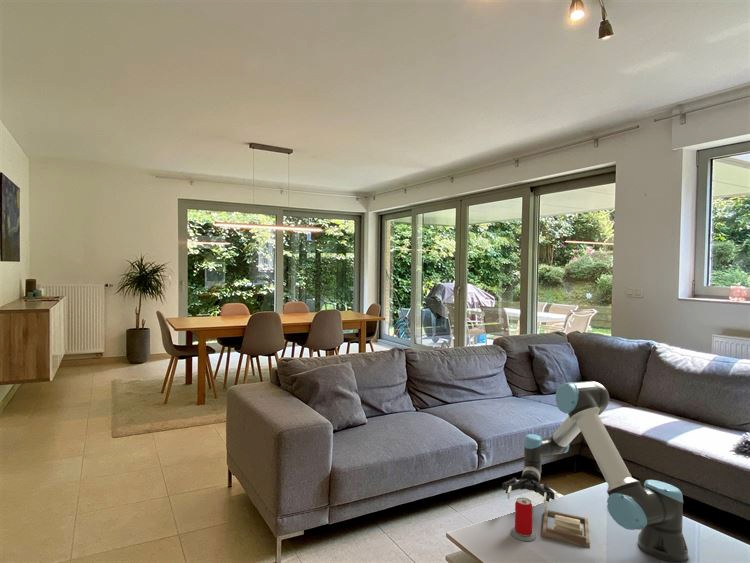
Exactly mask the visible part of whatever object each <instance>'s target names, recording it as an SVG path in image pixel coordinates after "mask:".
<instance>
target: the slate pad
mask: <svg viewBox="0 0 750 563" xmlns="http://www.w3.org/2000/svg"><path fill="white" fill-rule="evenodd" d="M510 534H511V536H512V537H513V538H514V539H516V540H519V541H522V542H527V543H528V542H533V541H535V540H536V539H537V534H536V532H535V531H534V530H532V534H531V535H529V536H522V535H519V534H518V533H517V532H516V531H515V526H514V527H512V528H511V530H510Z"/></svg>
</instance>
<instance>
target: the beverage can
mask: <svg viewBox="0 0 750 563" xmlns="http://www.w3.org/2000/svg"><path fill="white" fill-rule="evenodd" d="M514 527H515V531H516V532H517V533H518V534H519V535H522V536H529V535H531V534H532V531H533V503H532V501H531V500H530V499H528V498H527V497H518V498H517V499H516V501H515V503H514Z"/></svg>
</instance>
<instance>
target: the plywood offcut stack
mask: <svg viewBox="0 0 750 563" xmlns="http://www.w3.org/2000/svg"><path fill="white" fill-rule="evenodd" d="M553 529H555V530H560V531H564V532H569V533H573V534H578V535H582V536H584V532H583V531H584V530H583V529H584V526H583V525H581V522H580V520H578V519H573V518H569V517H564V516H560V515H555V517H554V525H553Z"/></svg>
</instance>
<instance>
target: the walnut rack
mask: <svg viewBox="0 0 750 563" xmlns="http://www.w3.org/2000/svg"><path fill="white" fill-rule="evenodd" d="M555 515H560V516H564V517H569V518H573V519H578V520H580V523H584V532H585V535H583V536H582V535H578V534H573V533H569V532H564V531H560V530H555V529H554V528H550V527H548V519H549V518H548V516H549V517H550V516H551V517H554V518H555ZM589 525H590V524H589V518H588V517H583V516H578V515H574V514H568V513H563V512H559V511H554V510H549V509H544V516H543V523H542V533H541V534H542V537H544V538H547V539H552V540H557V541H562V542H566V543H570V544H574V545H578V546H583V547H587V548H590V547H591V546H590V528H589Z"/></svg>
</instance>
